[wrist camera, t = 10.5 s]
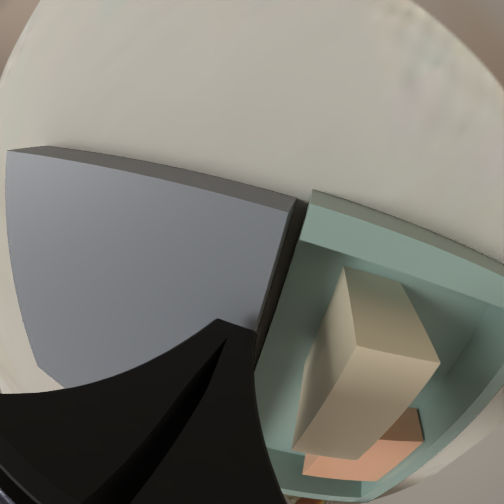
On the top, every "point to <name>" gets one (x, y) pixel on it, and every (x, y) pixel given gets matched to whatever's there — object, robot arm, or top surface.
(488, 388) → the tray
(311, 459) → the tile
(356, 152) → the top surface
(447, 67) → the top surface
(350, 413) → the tile
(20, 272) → the board
